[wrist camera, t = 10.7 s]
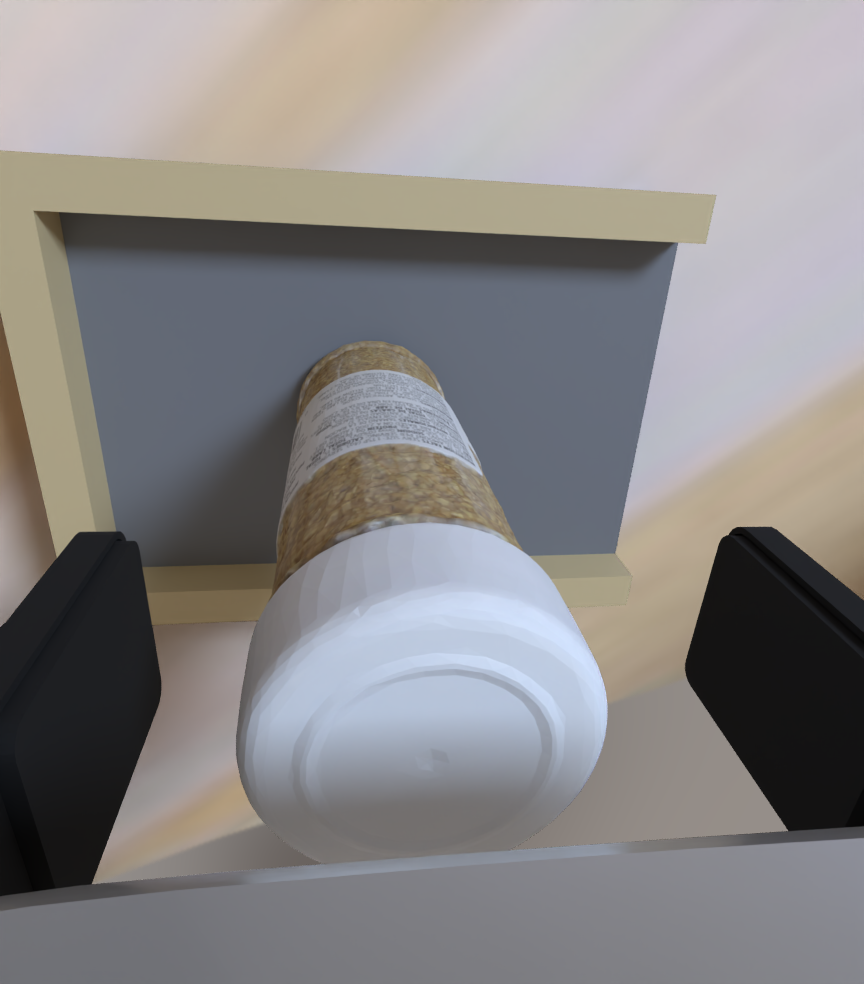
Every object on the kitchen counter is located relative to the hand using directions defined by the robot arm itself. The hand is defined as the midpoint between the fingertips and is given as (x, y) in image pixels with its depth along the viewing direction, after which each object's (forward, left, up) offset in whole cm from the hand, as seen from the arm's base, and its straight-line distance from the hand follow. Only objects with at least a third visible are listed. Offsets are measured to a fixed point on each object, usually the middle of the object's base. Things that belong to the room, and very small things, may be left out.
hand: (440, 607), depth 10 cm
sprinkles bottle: (+1, 0, -11) cm, 11 cm away
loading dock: (+1, 0, -12) cm, 12 cm away
